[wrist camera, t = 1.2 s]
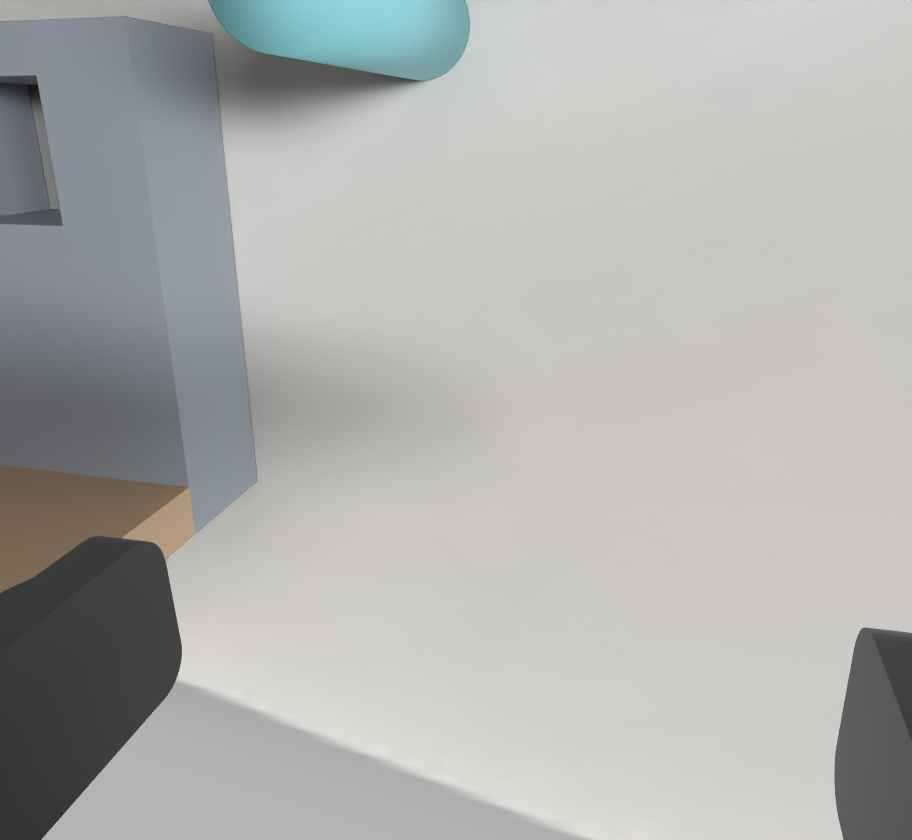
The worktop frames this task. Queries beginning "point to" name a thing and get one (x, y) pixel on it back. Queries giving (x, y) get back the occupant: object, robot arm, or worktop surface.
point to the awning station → (115, 293)
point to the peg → (354, 32)
